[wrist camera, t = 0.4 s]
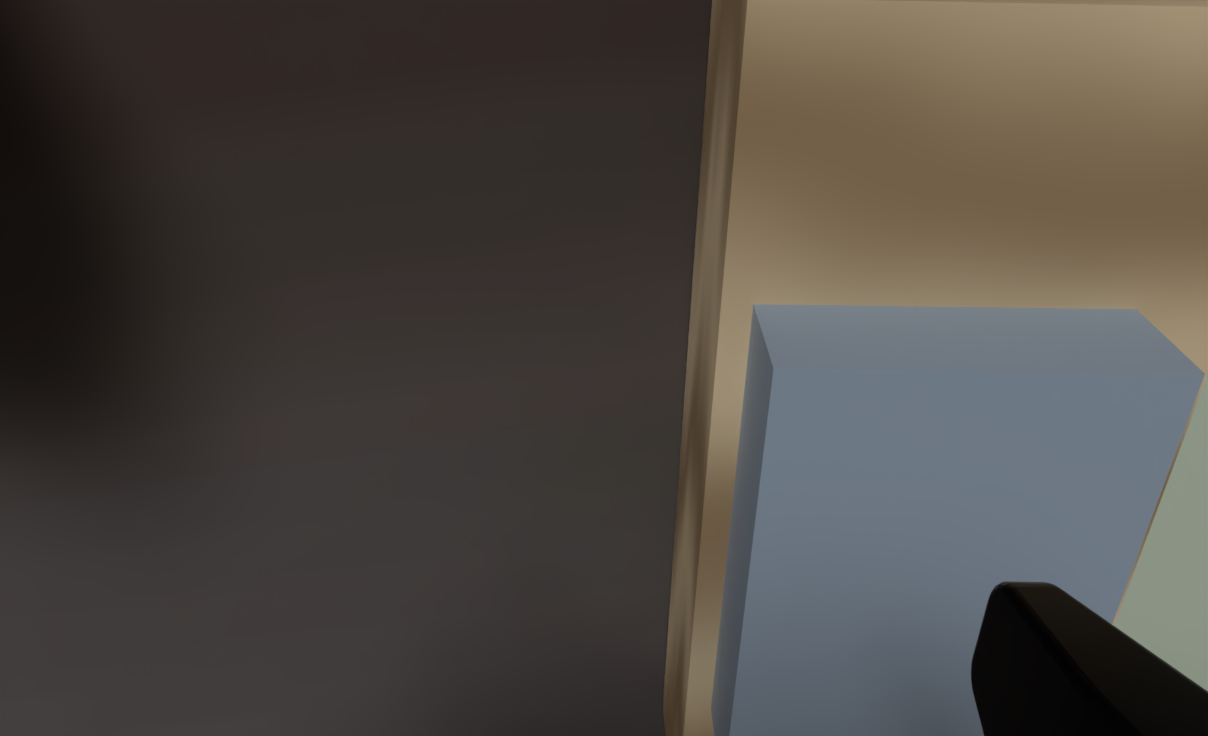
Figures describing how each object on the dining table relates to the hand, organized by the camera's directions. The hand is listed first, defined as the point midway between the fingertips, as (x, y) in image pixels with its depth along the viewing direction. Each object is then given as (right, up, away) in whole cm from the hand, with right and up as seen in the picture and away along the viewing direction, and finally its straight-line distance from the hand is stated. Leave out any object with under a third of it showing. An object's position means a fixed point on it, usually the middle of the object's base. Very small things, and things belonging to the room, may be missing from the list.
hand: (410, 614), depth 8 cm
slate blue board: (+7, -1, +10) cm, 12 cm away
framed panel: (+7, +1, +14) cm, 15 cm away
